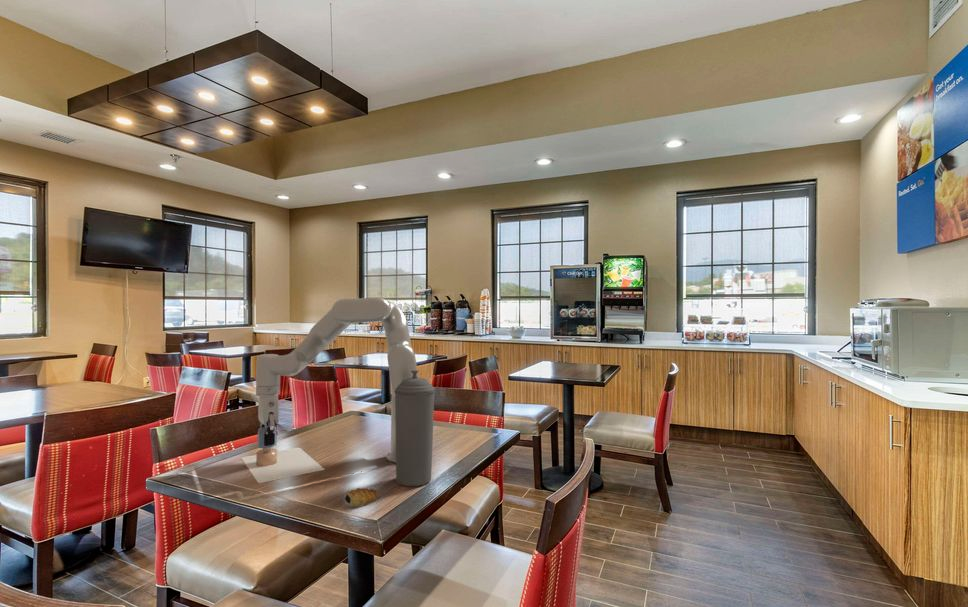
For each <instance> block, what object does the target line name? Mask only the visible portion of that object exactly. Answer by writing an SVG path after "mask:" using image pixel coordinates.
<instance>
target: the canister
mask: <svg viewBox="0 0 968 607" xmlns="http://www.w3.org/2000/svg"><path fill="white" fill-rule="evenodd" d="M411 372H412V373H413V376H412V378H406V379H404V380H403V381H402V382H401V383H400V384H399V385H398V387H397V388H396V389H395V425H396V463H395V468H396V469H395V470H396V472H395V473H396V474H395V475H396V476H395V478H396V483H397V484H399V485H401V486H403V487H420V485H421V486H423V485H427V484H429V483H430V481H431V480H432V468H433V466H432V465H433V444H434V443H433V442H434V441H433V439H434V412H435V408H434V405H435V393H436V390H435V388H434V386H433V385H432V384H431V383H430V382H429V380H428V379H426V378H424V377H420V376H418V377H417V372H418V373H419V372H420V370H418V369H417V370H411Z"/></svg>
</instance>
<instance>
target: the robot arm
mask: <svg viewBox="0 0 968 607" xmlns="http://www.w3.org/2000/svg"><path fill="white" fill-rule="evenodd" d="M379 322H380V323H381V324H382V326H383V328H384V334H385V338H386V345H387V364H388V371H389V378H390V391H391V395H390V396H391V403H390V404H391V410H390V411H391V412H390V414H391V415H390V417H391V419H390V451H389V452H388V453H387V454H386V455H385V456H386V458H385V459H386V460H388V461H389V462H391V463H395V464H396V425H395V389H396V388H397V387H398V385H399V384H400V383H401V382H402V381H403V380H404V379H406V378H412V376H413V373H412V372H411V370H418V367H417V357H416V354H415V350H414V349H413V346H412V342H411V336H410V332H409V330H410V329H409V326H408V320H407V319H406V316H405V314H404V312H403V311H402V309H401V308H400V307H399V306H398V305H397V304H395V303H394V302H392V301H389V300H388V299H385V298H384V297H361V298H341V299H338V300H336V302H334V304H333V305H332V307H331V309H330V310H328V312H327V313H326V314H325V315H324V316H322V318H320V320H318V321H317V322H316V323H315V324H314V325H313V326H312V327H311V328H310V331H309V332H308V334H307V336H306V337H305V338H304V339H303V340H302V341H301V342H300V343H299V344H298V346H297V347H295V348H294V349H293V350H292V351H291V352H289V353H288V354H284V355H279V354H277V353H276V354H275V353H264V354H260V355H258V356H257V358H256V363H255V364H256V367H255V368H256V370H255V371H256V373H255V375H256V376H255V378H256V379H255V381H256V382H255V396H257V397H258V407H257V408H258V409H257V417H258V418H257V419H258V421H259V422H260V424H259V425H260V426H259V428H261V427H265V434H264V446H268V445H274V444H275V427H276V426H275V425H278V424H280V407H279V405H280V402H279V395H280V394H281V376H283V377H284V376H285V377H293V376H296V375H298V374H299V373H301V372H302V371H303V370H304V369H306V367H308V365H310V363H312V362H313V360H315V359H316V358H317V357H318V356H319V354H321V353H322V352H323V351H324V350H325V349H326V348H328V347H329V346H330V345H331V344H332V343H333V342H334V341H335V340H336V339H337V338H338V337H339V336H340V335H341V334H342V333H343V332H345V330H346V329H347V328H349V326H350V325H351V324H363V323H379ZM417 377H419V372H417ZM267 426H270V427H268V429H267ZM274 426H275V427H274Z"/></svg>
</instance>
